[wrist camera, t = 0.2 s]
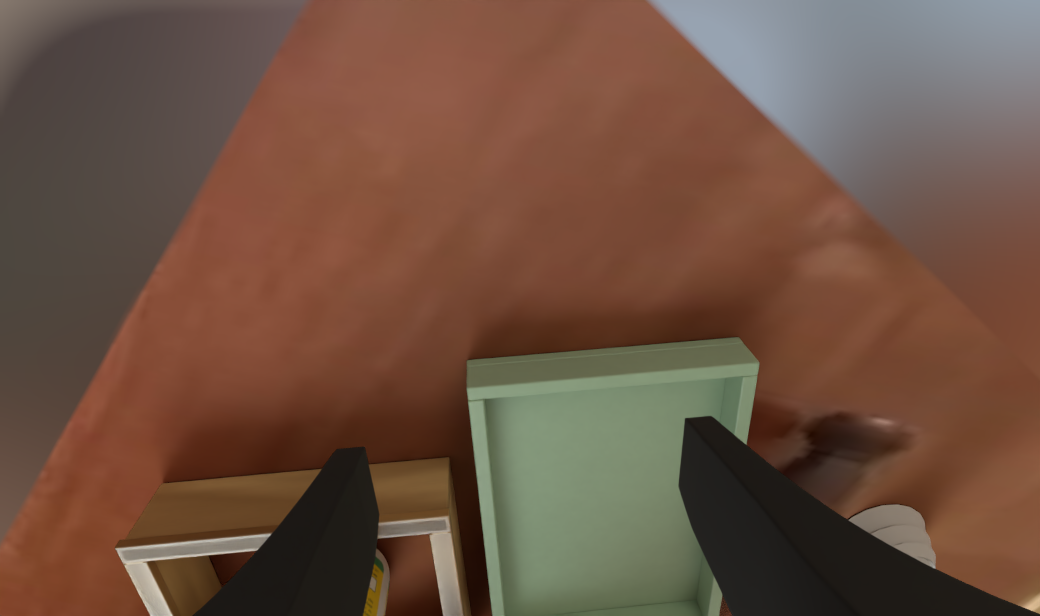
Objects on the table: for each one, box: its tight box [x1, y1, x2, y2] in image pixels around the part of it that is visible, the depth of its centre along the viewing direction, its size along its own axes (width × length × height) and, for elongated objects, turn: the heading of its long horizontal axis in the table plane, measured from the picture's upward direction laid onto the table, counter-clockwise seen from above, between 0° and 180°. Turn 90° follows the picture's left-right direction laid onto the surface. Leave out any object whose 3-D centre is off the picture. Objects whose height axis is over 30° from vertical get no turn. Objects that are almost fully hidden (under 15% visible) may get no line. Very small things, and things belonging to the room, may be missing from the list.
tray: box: [467, 337, 759, 616], centre depth 27 cm, size 16×11×2 cm
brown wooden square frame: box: [115, 457, 471, 616], centre depth 27 cm, size 13×13×4 cm
